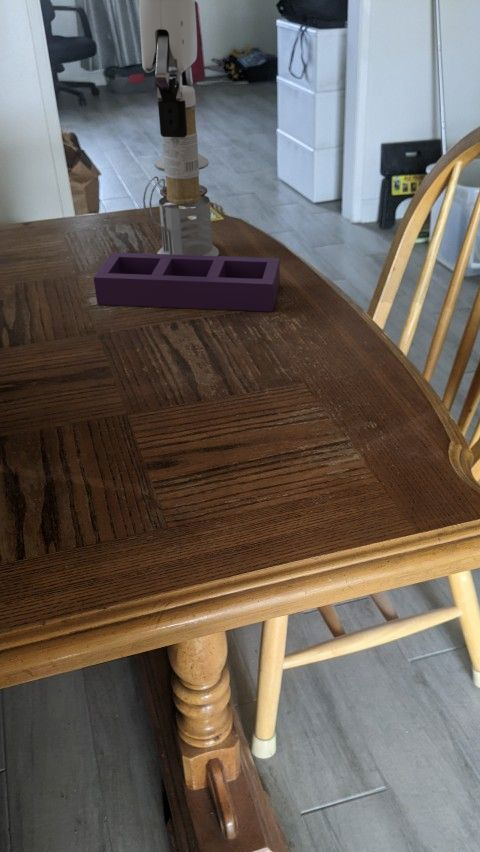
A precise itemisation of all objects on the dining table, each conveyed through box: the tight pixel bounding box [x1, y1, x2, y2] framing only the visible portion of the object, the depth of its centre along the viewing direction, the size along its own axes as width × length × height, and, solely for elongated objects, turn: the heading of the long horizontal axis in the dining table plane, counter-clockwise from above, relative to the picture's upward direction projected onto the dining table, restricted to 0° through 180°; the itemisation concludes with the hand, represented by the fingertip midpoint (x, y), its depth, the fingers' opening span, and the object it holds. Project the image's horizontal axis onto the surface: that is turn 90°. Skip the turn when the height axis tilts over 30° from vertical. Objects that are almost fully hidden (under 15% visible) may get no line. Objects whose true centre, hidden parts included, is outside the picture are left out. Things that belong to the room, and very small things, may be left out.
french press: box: [142, 153, 220, 256], centre depth 115 cm, size 10×12×25 cm
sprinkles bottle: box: [161, 85, 201, 206], centre depth 98 cm, size 5×5×13 cm
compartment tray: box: [93, 251, 281, 313], centre depth 109 cm, size 9×24×4 cm, turn 84°
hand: (178, 129), depth 97 cm, fingers closed on sprinkles bottle, 4 cm apart
